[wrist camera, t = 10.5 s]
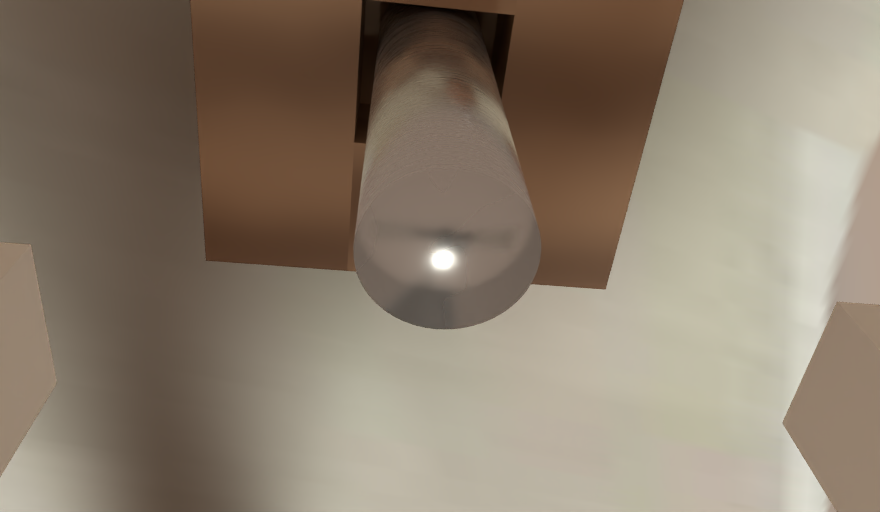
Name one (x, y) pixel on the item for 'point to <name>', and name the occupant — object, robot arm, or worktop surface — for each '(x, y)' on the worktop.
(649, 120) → the wooden block with hole
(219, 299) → the worktop surface
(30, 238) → the worktop surface
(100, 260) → the worktop surface
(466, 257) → the steel pin
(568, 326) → the worktop surface
